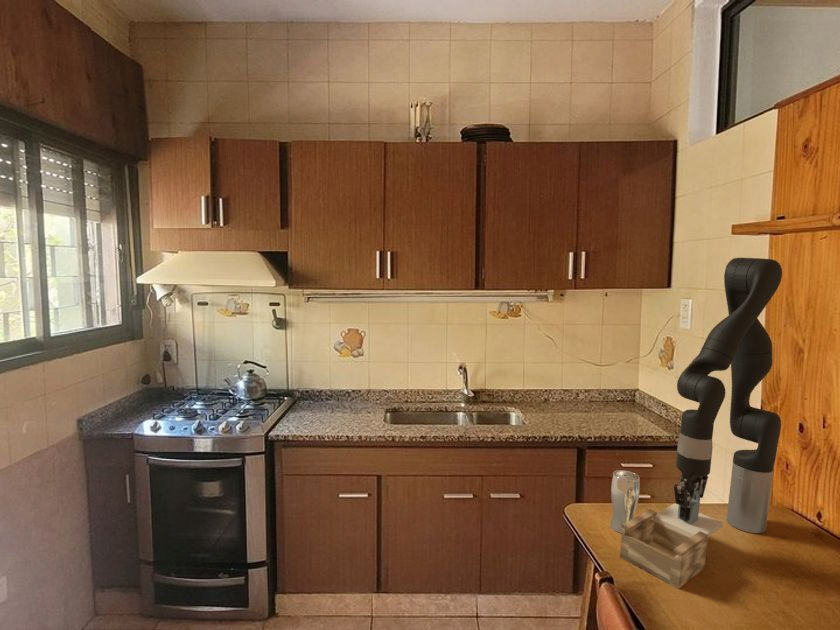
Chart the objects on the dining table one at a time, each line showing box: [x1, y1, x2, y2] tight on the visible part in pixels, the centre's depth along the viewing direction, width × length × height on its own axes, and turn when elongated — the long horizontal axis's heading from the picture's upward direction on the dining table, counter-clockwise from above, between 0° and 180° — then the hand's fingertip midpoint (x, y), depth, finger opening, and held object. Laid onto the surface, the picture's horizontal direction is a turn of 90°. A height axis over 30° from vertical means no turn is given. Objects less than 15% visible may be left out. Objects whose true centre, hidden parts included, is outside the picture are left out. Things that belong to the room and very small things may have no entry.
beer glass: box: [609, 469, 641, 534], centre depth 131 cm, size 7×7×15 cm
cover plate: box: [652, 498, 724, 538], centre depth 123 cm, size 12×12×6 cm
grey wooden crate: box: [619, 509, 709, 589], centre depth 116 cm, size 13×14×8 cm
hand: (687, 517), depth 123 cm, fingers closed on cover plate, 3 cm apart
